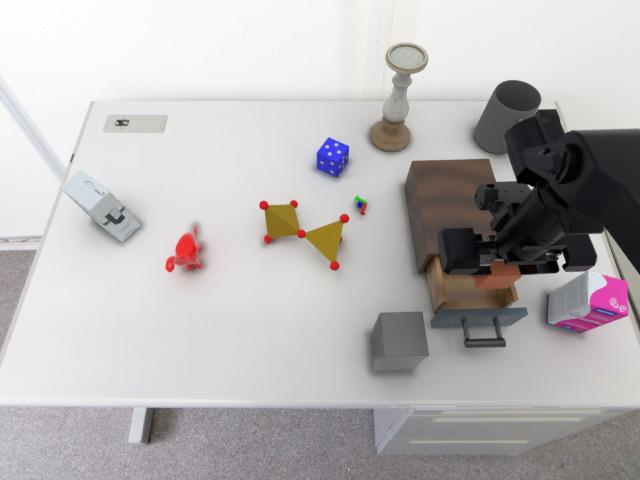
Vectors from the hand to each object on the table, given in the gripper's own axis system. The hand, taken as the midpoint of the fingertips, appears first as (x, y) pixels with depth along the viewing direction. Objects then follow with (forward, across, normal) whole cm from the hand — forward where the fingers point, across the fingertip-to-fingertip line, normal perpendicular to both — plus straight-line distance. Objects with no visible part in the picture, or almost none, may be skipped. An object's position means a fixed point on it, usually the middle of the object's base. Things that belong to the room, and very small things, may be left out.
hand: (489, 273), depth 56 cm
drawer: (+11, 0, -2) cm, 11 cm away
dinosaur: (+12, +49, -9) cm, 51 cm away
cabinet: (+12, 0, -15) cm, 19 cm away
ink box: (+12, +65, -18) cm, 68 cm away
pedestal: (+12, +14, +9) cm, 20 cm away
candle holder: (+12, +9, -38) cm, 41 cm away
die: (+12, +22, -31) cm, 40 cm away
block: (0, 0, 0) cm, 0 cm away
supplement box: (+12, -17, +3) cm, 21 cm away
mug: (+12, -14, -35) cm, 40 cm away
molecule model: (+12, +26, -15) cm, 33 cm away
